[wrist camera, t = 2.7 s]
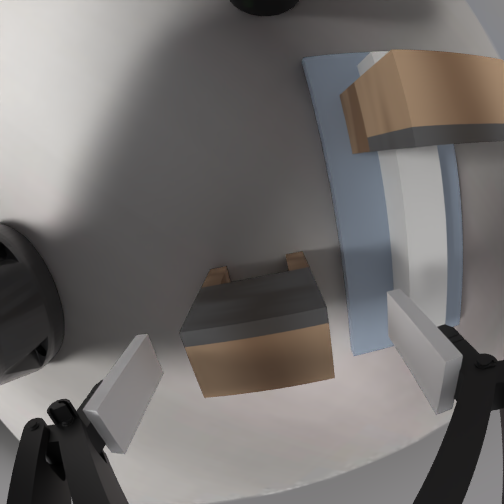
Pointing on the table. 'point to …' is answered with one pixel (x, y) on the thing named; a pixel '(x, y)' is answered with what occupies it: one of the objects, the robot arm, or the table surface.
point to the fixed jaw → (425, 101)
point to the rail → (371, 209)
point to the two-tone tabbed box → (258, 332)
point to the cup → (264, 6)
